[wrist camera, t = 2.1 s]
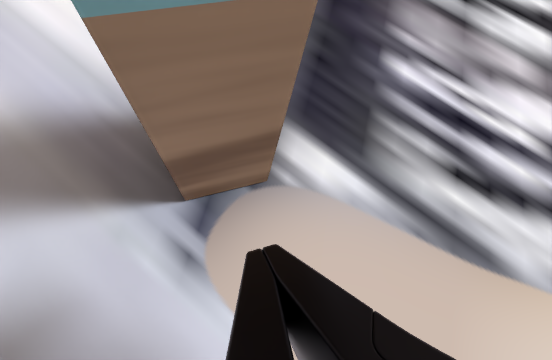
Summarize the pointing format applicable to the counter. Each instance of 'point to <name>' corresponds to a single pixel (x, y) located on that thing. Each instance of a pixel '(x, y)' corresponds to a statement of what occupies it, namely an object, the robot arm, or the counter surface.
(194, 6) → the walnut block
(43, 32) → the counter surface
